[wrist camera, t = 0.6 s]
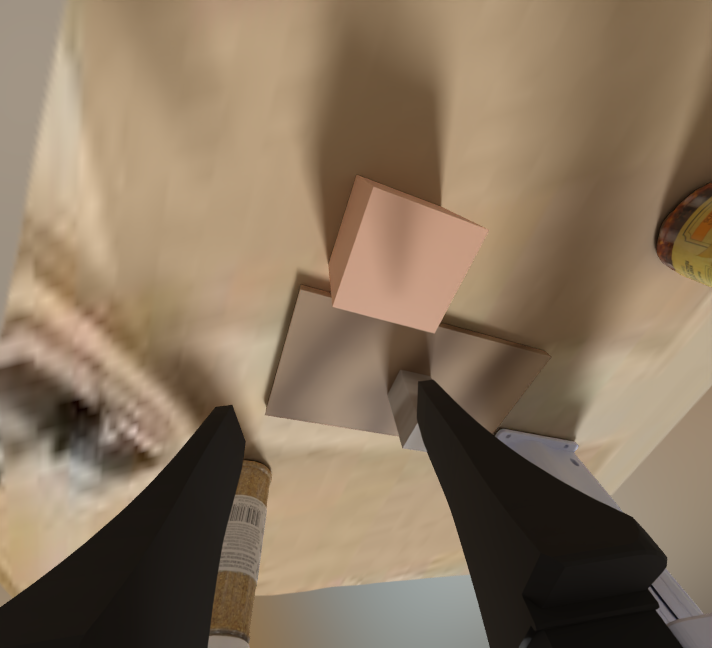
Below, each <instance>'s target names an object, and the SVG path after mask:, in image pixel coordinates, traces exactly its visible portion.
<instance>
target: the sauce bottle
mask: <svg viewBox="0 0 712 648" xmlns="http://www.w3.org/2000/svg"><path fill="white" fill-rule="evenodd" d="M656 248H657V254H658V257H659V258H660V260H661V261H662V262H663V264H665V265H666V266H668V267H669V268H671V269H672V270H674V271H676V272H677V273H679V274H680V275H682V276H685V277H687V278H690V279H692V280H695V281H697V282H700V283H702V284H705V285H707V286H710V287H712V183H708V184H706V185H705V186H704V187H701V188H698V189H697V190H696V191H694V192H693V193H692V194H690V195H689V196H688V197H687V198H686V199H685V200H683V201H682V202H681V203H680V204H679V205H678V206H677V207H676V209H675V210H674V211H673V212H671V213H670V214H669V215H668V216H667V218H666V219H665V220H664V222H663V223H662V226H661V227H660V235H659V237H658V241H657V245H656Z"/></svg>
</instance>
